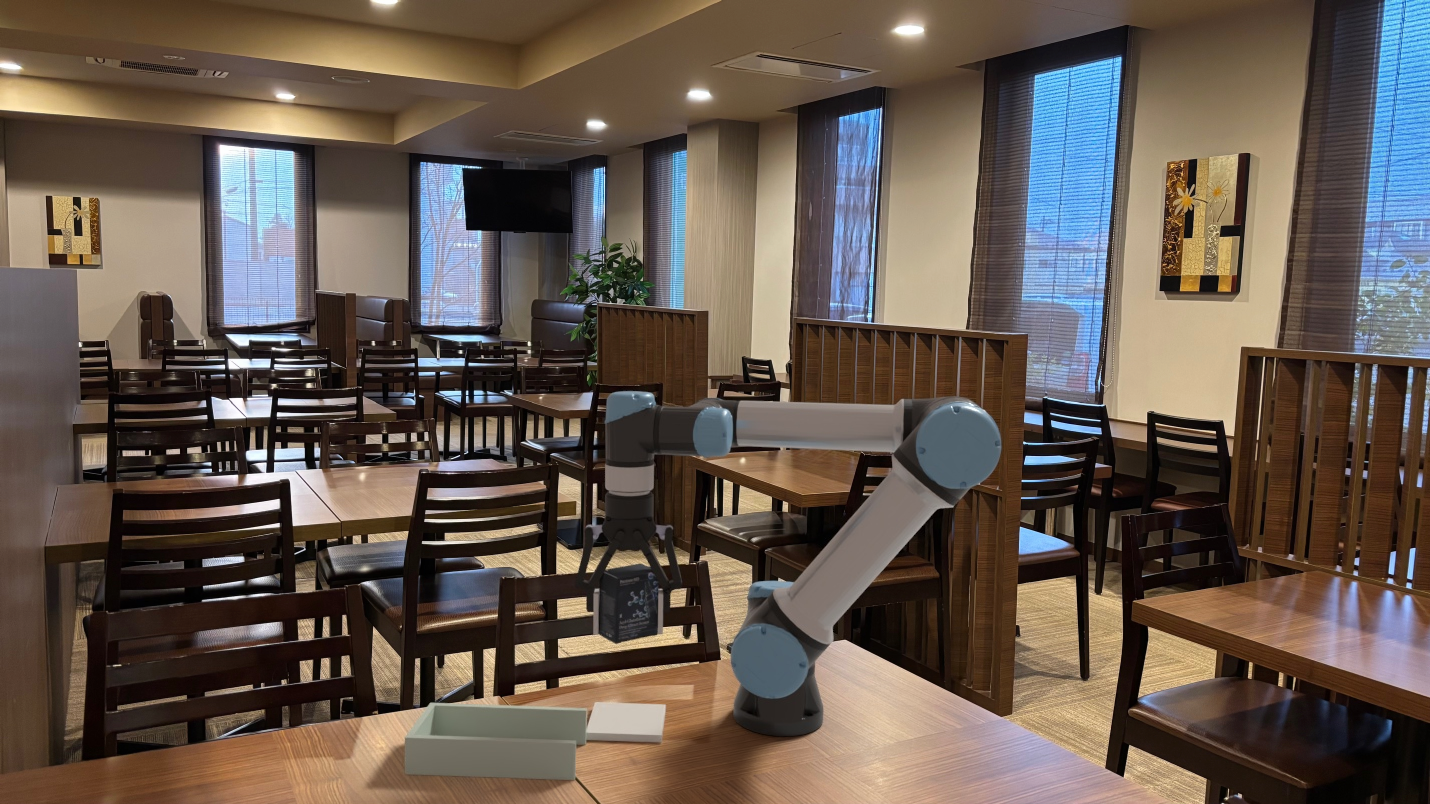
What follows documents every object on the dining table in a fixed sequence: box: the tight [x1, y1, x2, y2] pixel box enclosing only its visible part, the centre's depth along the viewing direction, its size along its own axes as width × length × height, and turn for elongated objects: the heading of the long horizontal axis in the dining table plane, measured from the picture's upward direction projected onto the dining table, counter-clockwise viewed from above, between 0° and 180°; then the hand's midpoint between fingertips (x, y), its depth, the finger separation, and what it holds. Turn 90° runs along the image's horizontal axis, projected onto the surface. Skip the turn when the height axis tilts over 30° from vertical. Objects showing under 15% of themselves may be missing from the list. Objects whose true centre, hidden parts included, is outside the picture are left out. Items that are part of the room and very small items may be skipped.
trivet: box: [586, 701, 667, 744], centre depth 161 cm, size 12×12×1 cm
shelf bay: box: [404, 702, 588, 781], centre depth 148 cm, size 24×12×6 cm, turn 90°
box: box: [598, 563, 660, 645], centre depth 155 cm, size 8×6×11 cm
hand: (628, 631), depth 155 cm, fingers closed on box, 9 cm apart
